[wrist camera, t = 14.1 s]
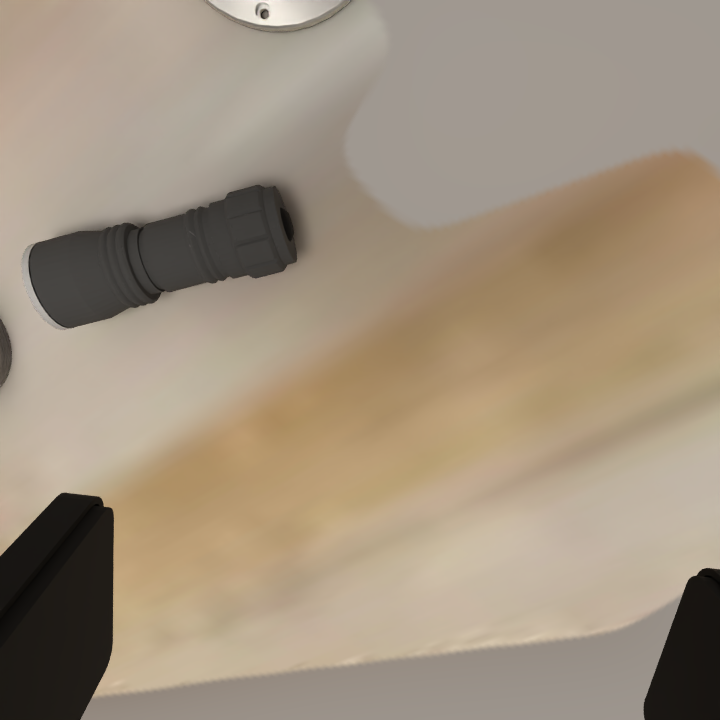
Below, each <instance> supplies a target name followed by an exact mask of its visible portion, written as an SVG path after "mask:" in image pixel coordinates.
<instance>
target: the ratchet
mask: <svg viewBox="0 0 720 720" xmlns="http://www.w3.org/2000/svg"><path fill="white" fill-rule="evenodd" d="M11 360H12V351H11V343H10V339H9V336H8V333H7V330H6V328H5V326H4V324H3V322H2V320H1V319H0V387H1V386H2V385H3V383H4V382H5V380H6V378H7V376H8V373H9V370H10V366H11Z"/></svg>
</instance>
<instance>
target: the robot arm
mask: <svg viewBox="0 0 720 720" xmlns="http://www.w3.org/2000/svg"><path fill="white" fill-rule="evenodd" d="M204 1H205V2H206V3H207V4H208V5H210V6H211V7H212V8H214V9H215V10H217V11H218V12H219V13H221V14H222V15H224V16H225V17H227V18H228V19H230V20H233V21H235V22H237V23H240V24H242V25H244V26H247V27H249V28H254V29H259V30H264V31H269V32H275V31H294V30H298V29H302V28H307V27H311V26H313V25H315V24H317V23H319V22H321V21H324V20H326V19H328V18H330V17H331V16H332V15H334V14H335V13H336V12H338V11H339V10H340V9H342V8H343V7H344V6H346V5H347V4H348V3H349V2H350V1H351V0H204ZM263 11H268V12H269V17H268V18H267V19H263V18H261V13H262V12H263ZM113 542H114V514H113V510H112V509H111V508H109V507H104V506H103V501H102V499H101V498H100V497H97V496H88V495H80V494H71V493H61V494H60V495H58V496H57V497H56V498H55V499H54V500H53V501H52V502H51V503H50V505H49V506H48V507H47V508H46V509H45V510H44V511H43V512H42V513H41V514H40V515H39V516H38V517H37V518H36V519H35V520H34V521H33V522H32V523H31V525H30V526H29V527H28V528H27V529H26V530H25V531H24V532H23V533H22V534H21V535H20V536H19V537H18V538H17V539H16V540H15V541H14V542H13V544H12V545H11V546H10V547H9V548H8V549H7V550H6V551H5V552H4V553H3V554H2V555H1V556H0V720H80V719H81V717H82V715H83V713H84V711H85V709H86V707H87V705H88V703H89V702H90V700H91V698H92V696H93V694H94V692H95V690H96V688H97V686H98V684H99V682H100V680H101V678H102V677H103V675H104V673H105V671H106V668H107V666H108V663H109V660H110V656H111V652H112V644H113ZM644 718H645V720H720V569H711V568H706V569H702V570H701V571H700V572H699V573H698V574H697V576H693V577H691V578H690V579H689V580H688V582H687V584H686V587H685V590H684V593H683V595H682V598H681V601H680V604H679V606H678V609H677V612H676V615H675V618H674V620H673V623H672V626H671V629H670V632H669V634H668V637H667V640H666V643H665V645H664V648H663V651H662V654H661V657H660V659H659V662H658V665H657V668H656V671H655V674H654V676H653V679H652V682H651V685H650V688H649V690H648V693H647V696H646V698H645V702H644Z"/></svg>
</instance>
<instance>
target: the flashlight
mask: <svg viewBox="0 0 720 720" xmlns="http://www.w3.org/2000/svg"><path fill="white" fill-rule="evenodd" d="M293 235H294V230H293V226H292V222H291V219H290V216H289V214H288V212H287V211H286V209H285V206H284V204H283V201H282V198H281V196H280V194H279V192H278V190H277V188H276V187H275V186H273V187H269V188H264V187H262V186H261V185H255V186H252V187H248V188H244V189H241V190H237V191H233V192H230V193H228V194H227V196H226V199H224V200H221V201H217V202H214V203H210V204H209V207H208V208H204V207H199V208H198V209H197V210H195V209H190V210H189V211H187V212H186V214H182V215H178V216H175V217H171V218H168V219H164V220H160V221H157V222H153V223H149V224H146V225H145V227H144V228H138V227H137V226H135V225H133V224H131V223H123V224H122V225H116V226H114V227H113V228H111V227H108V228H106V229H105V230H103V231H79V232H75V233H71V234H68V235H64V236H60V237H57V238H53V239H50V240H46V241H42V242H38V243H35V244H31V245H30V246H28V247H27V248H26V249H25V251H24V253H23V257H22V277H23V282H24V286H25V289H26V291H27V294H28V296H29V298H30V300H31V302H32V304H33V306H34V308H35V309H36V311H37V312H38V313H39V315H40V316H41V317H42V318H43V319H44V320H45V321H46V322H47V323H48V324H50V325H51V326H53V327H55V328H56V329H60V330H66V329H70V328H74V327H77V326H81V325H85V324H89V323H93V322H97V321H100V320H104V319H108V318H112V317H113V316H115V315H117V314H119V313H121V312H122V311H124V310H126V309H128V308H130V307H133V308H136V307H138V306H140V305H142V306H143V305H146V304H148V303H154V302H156V301H157V300H158V298H159V297H160V294H161V292H164V291H165V290H166V291H167V292H172V291H176V290H179V289H183V288H187V287H191V286H195V285H199V284H203V283H206V282H209V283H216V282H217V281H218V280H220V281H224V280H225V279H226V278H227V277H229V276H230V277H231V278H233V279H234V278H238V277H242V276H246V275H249V276H251V277H252V278H259V277H263V276H267V275H271V274H274V273H278V272H282V271H284V270H285V268H286V266H287V265H288V264H292V263H295V262H296V261H297V255H296V248H295V243H294V238H293Z"/></svg>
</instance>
